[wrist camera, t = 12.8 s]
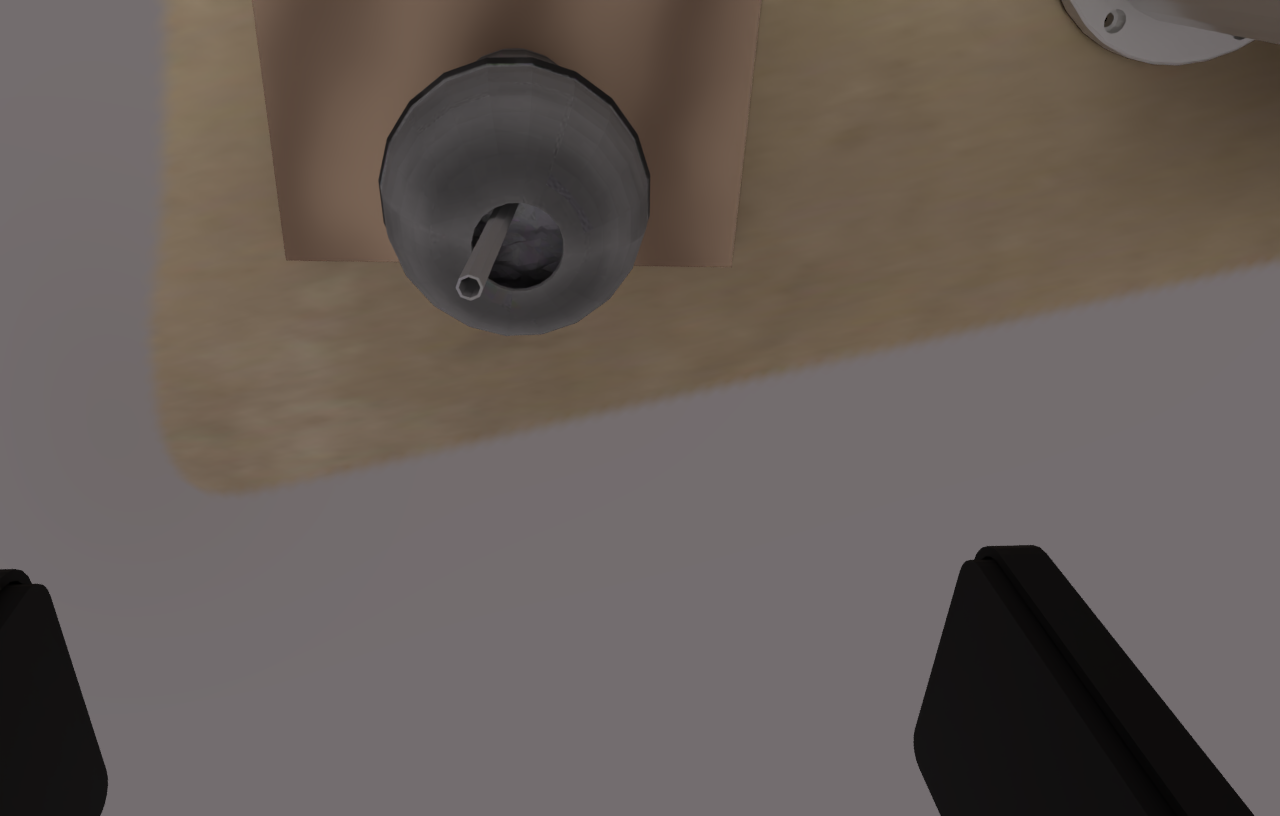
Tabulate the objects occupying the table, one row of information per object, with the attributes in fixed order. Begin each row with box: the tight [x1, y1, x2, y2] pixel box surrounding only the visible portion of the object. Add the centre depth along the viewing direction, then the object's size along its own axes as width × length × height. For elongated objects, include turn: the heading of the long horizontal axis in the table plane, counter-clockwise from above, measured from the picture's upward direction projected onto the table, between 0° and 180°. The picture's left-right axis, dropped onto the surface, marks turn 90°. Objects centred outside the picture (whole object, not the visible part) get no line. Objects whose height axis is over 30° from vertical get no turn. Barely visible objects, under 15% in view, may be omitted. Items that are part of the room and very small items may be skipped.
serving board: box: [252, 0, 762, 267], centre depth 35 cm, size 18×12×2 cm, turn 87°
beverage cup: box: [378, 48, 650, 336], centre depth 26 cm, size 7×7×20 cm
